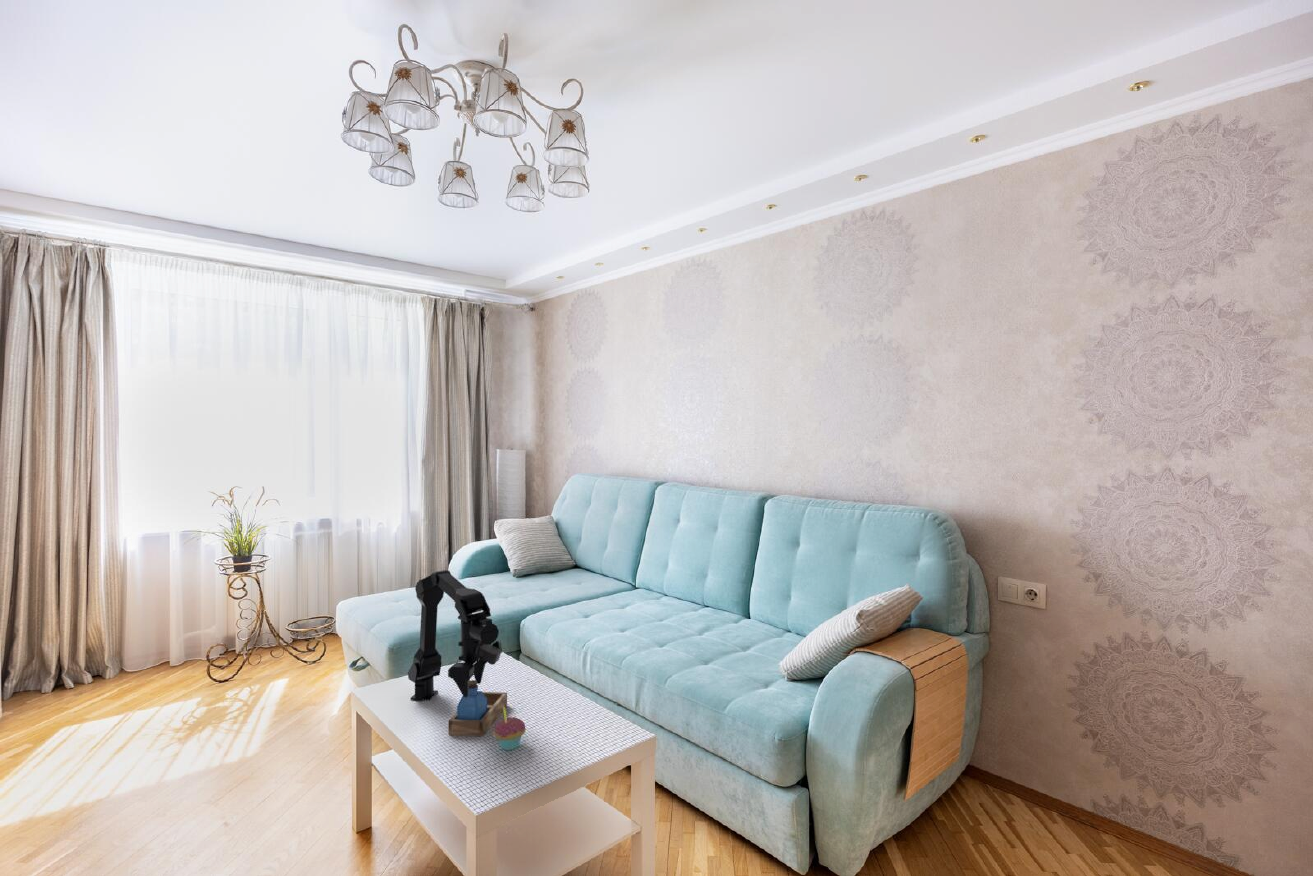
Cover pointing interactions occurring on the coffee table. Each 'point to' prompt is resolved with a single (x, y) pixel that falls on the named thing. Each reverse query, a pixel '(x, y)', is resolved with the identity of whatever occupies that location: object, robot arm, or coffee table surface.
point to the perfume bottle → (472, 704)
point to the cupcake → (509, 731)
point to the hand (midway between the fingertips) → (472, 690)
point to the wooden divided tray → (481, 726)
